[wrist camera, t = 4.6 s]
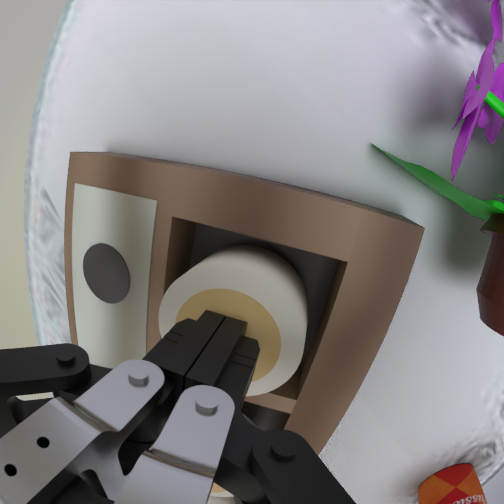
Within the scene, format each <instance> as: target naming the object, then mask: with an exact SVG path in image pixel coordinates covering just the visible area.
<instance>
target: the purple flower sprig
mask: <svg viewBox="0 0 504 504" xmlns="http://www.w3.org/2000/svg"><path fill="white" fill-rule="evenodd" d="M487 1H488V2H489V1H490V0H487ZM491 20H492V27H493V30H494V35H493V37H492V39H491V41H490V42H489V44H488V46H487V47H486V49H485V51H484V53H483V55H482V57H481V61H480V64H479V67H478V71H477V75H476V81H475V77H474V71H473V72H472V74H471V76H470V78H469V81H468V83H467V87H466V91H465V96H464V101H463V106H462V109H461V113H460V116H459V118H458V120H457V122H456V124H455V126H454V127H453V129H454V128H455V127H456V125H457V124H458V122H459V121H460V120H461V118H462V117H463V119H464V118H465V117H466V118H465V120H464V123H463V125H462V128H461V130H460V133H459V136H458V138H457V141H456V144H455V147H454V152H453V158H452V169H451V176H452V181H453V179H454V177H455V174H456V172H457V170H458V168H459V166H460V163H461V161H462V158H463V156H464V154H465V151H466V149H467V146H468V144H469V141H470V138H471V136H472V133H473V131H474V128H475V125H476V122H477V119H478V116H479V113H480V109H481V105H482V103H483V101H485V104H484V106H483V108H482V111H481V113H480V116H479V119H478V127H479V128H485V134H486V137H487V140H488V142H489V143H490V144H492V145H493V144H494V142H495V141H496V139H497V138H498V135H499V133H500V131H501V128H502V125H503V123H504V63H501V64H500V65H499V67H498V68H497V69H496V71H495V72H494V62H493V58H492V55H493V50H494V44H495V39H496V37H497V39H498V40H499V41H500V42H501V40H502V21H501V7H500V3H499V0H493V2H492V7H491ZM478 84H479V85H478ZM453 129H452V130H453ZM371 144H372V143H371ZM374 146H375V145H374ZM375 147H376V146H375ZM377 148H378V147H377ZM378 149H379V150H381V149H380V148H378ZM381 151H382V152H383V153H385V154H386V155H387V156H388V157H390V158H391V159H392V160H394V161H395V162H396V163H397V164H399V165H400V166H401V167H403V168H404V169H405V170H407V171H408V172H409V173H411V174H412V175H413V176H414V177H416V178H417V179H418V180H420V181H421V182H422V183H424V184H425V185H427V186H428V187H430V188H431V189H433V190H434V191H436V192H437V193H439V194H440V195H442V196H444V197H446V198H448V199H450V200H452V201H453V202H455V203H456V204H457V205H459V206H460V207H461V208H462V209H463V210H464V211H465V212H467V213H469V214H471V215H472V216H474V217H478V218H481V219H485V220H488V221H487V222H486V223H485V224H484V226H483V227H482V228H481V229H480V230H481V231H482V232H483V233H485V234H487V235H489V236H491V237H492V240H491V244H490V247H489V251H488V254H487V258H486V261H485V265H484V268H483V271H482V274H481V277H480V280H479V283H478V286H477V289H476V290H477V296H478V303H479V311H480V318H481V320H482V321H483V323H485V324H486V325H487V326H488V327H490V328H491V329H492V330H494V331H495V332H497V333H499V334H500V335H502V336H504V203H501V202H499V201H496V200H479V199H477V198H475V197H473V196H470V195H468V194H466V193H464V192H463V191H461V190H459V189H457V188H456V187H454V186H453V185H451V184H450V183H448V182H447V181H446V180H444V179H443V178H441V177H440V176H438V175H437V174H435V173H434V172H432V171H430V170H428V169H426V168H424V167H422V166H420V165H416V164H413V163H409V162H406V161H404V160H402V159H399V158H397V157H395V156H393V155H391V154H389V153H387V152H385V151H383V150H381ZM494 196H496V197H499V198H501V199H504V196H503V195H499V194H496V193H494Z"/></svg>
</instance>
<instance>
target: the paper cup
mask: <svg viewBox="0 0 504 504" xmlns="http://www.w3.org/2000/svg"><path fill="white" fill-rule="evenodd" d="M418 502H419V504H487V501H486V498H485V496H484V493H483V490H482V487H481V484H480V482H479V479H478V477H477V474H476V472H475V470H474V468H473V466H472V465H471V464H468V463H463V464H457V465H454V466H451V467H448V468H445V469H443V470H441V471H439V472H437V473H435V474H433V475H432V476H430V477H429V478H427V479H426V480H425V481H424V482H423V483H422V484H421V485H420V487H419V491H418Z"/></svg>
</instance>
